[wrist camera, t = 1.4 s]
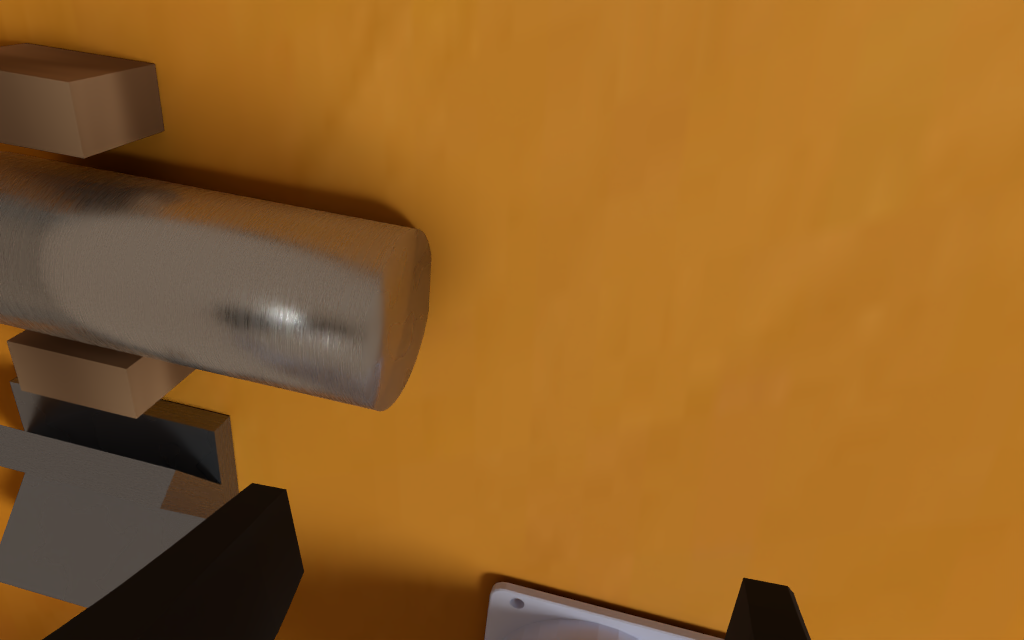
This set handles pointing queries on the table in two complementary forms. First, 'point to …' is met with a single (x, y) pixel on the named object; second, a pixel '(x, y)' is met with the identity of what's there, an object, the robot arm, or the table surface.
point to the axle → (213, 280)
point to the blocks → (81, 133)
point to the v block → (106, 491)
